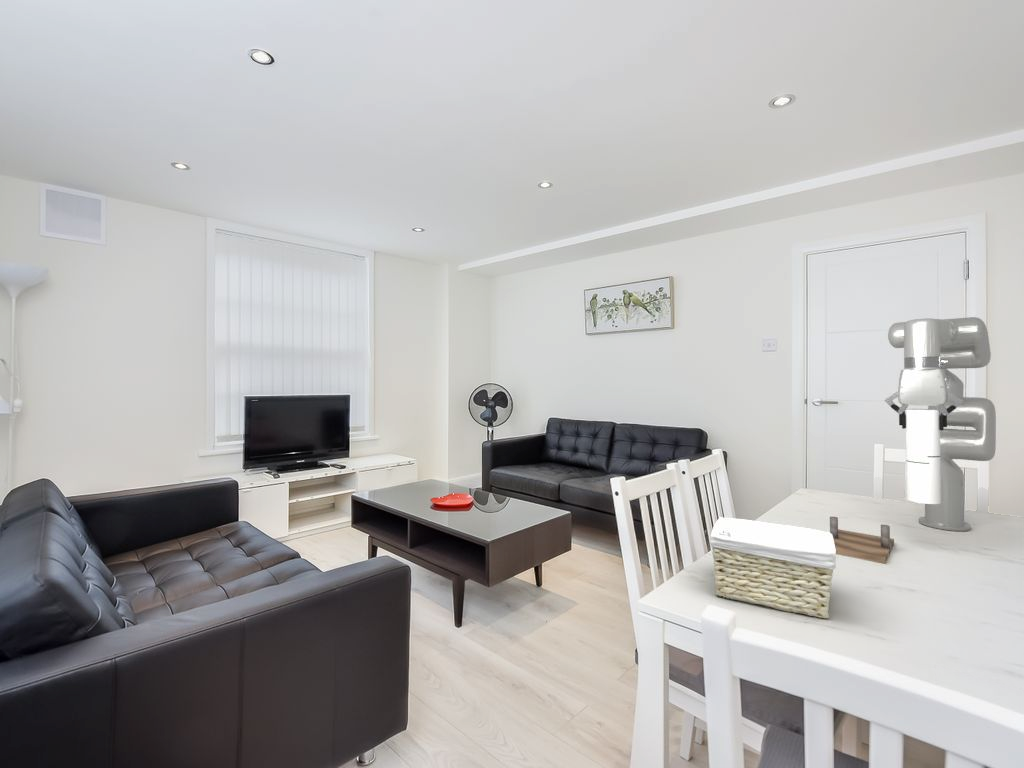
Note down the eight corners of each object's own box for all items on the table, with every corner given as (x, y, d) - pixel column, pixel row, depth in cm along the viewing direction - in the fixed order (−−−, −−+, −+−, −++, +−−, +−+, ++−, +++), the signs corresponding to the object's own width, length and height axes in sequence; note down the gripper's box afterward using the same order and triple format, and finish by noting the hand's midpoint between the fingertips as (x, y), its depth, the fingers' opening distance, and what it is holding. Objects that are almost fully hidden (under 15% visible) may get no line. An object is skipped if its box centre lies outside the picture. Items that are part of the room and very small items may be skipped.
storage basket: (832, 594, 108) (832, 529, 108) (838, 626, 94) (837, 552, 94) (718, 573, 120) (718, 515, 120) (708, 599, 106) (708, 533, 106)
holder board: (836, 533, 148) (836, 509, 148) (894, 544, 139) (893, 518, 139) (822, 551, 134) (822, 524, 134) (885, 563, 124) (885, 535, 124)
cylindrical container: (947, 504, 126) (946, 410, 126) (916, 503, 127) (915, 410, 127) (929, 497, 133) (928, 408, 133) (900, 497, 134) (899, 408, 134)
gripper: (965, 363, 127) (966, 429, 127) (883, 365, 139) (884, 426, 139) (965, 363, 121) (966, 432, 121) (880, 365, 133) (880, 428, 133)
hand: (922, 428), depth 130 cm, fingers closed on cylindrical container, 7 cm apart
